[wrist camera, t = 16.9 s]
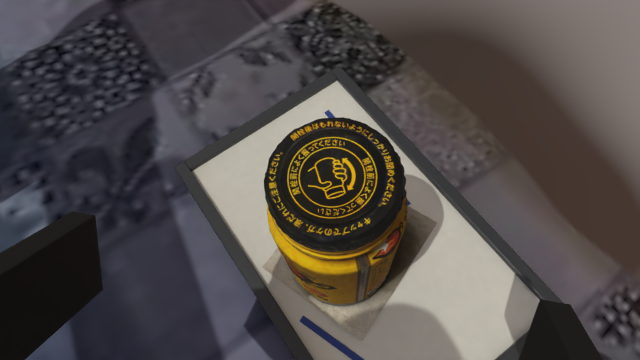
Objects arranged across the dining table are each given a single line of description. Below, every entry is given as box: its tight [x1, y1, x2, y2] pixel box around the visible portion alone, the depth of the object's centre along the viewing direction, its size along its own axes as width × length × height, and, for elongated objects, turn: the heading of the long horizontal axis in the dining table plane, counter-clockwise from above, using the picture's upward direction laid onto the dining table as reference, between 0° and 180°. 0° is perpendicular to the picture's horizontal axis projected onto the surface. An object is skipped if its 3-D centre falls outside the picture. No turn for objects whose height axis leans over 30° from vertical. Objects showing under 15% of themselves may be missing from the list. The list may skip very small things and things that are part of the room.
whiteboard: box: [175, 66, 563, 360], centre depth 27 cm, size 22×14×1 cm, turn 35°
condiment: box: [262, 117, 437, 341], centre depth 21 cm, size 7×8×12 cm
